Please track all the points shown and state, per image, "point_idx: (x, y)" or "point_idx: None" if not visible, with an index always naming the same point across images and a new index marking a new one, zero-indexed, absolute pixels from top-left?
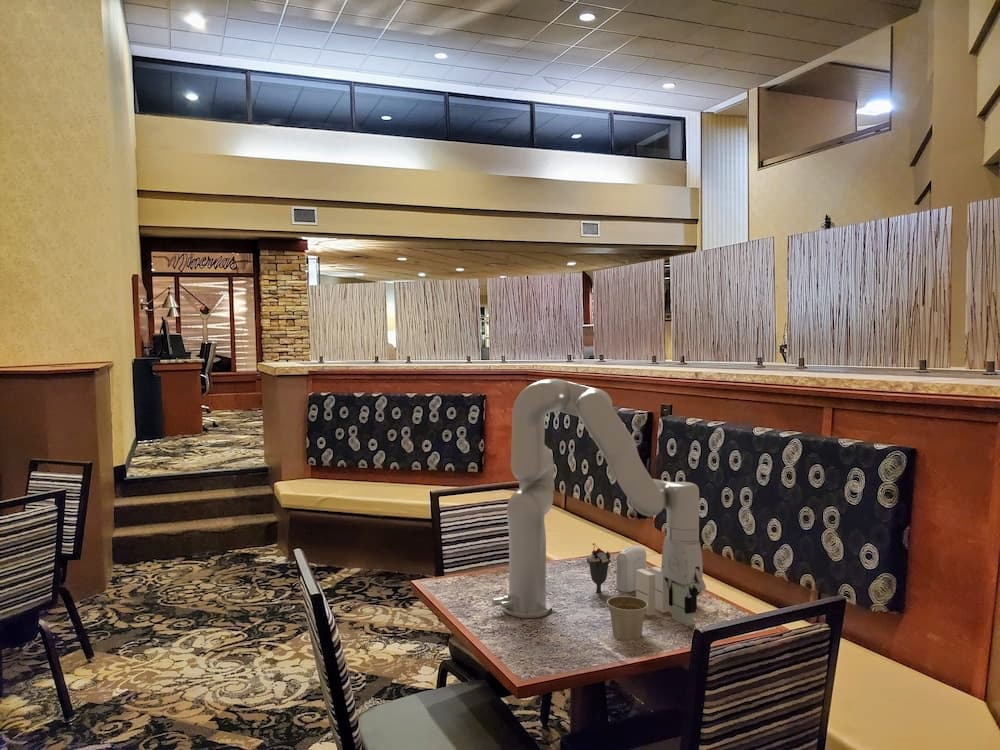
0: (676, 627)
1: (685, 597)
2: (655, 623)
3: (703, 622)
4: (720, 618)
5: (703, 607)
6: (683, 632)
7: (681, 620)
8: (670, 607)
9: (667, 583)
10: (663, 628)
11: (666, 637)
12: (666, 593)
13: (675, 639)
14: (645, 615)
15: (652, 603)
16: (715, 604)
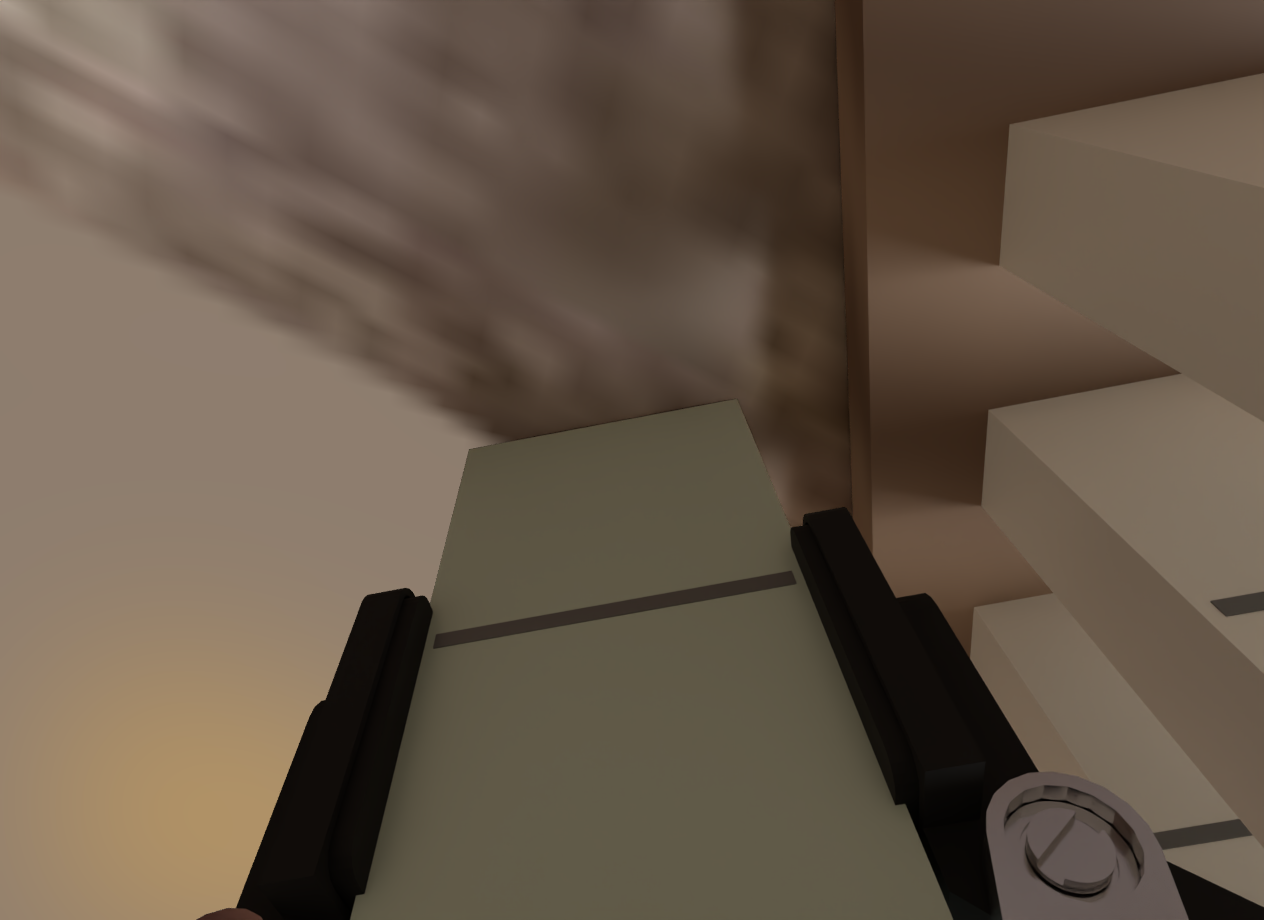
0: (601, 388)
1: (289, 868)
2: (828, 170)
3: None
4: None
5: None
6: (423, 394)
7: (554, 488)
8: None
9: (1179, 912)
10: (615, 194)
11: (256, 48)
12: (1162, 660)
13: (171, 159)
14: (1046, 70)
15: (1124, 267)
16: None
